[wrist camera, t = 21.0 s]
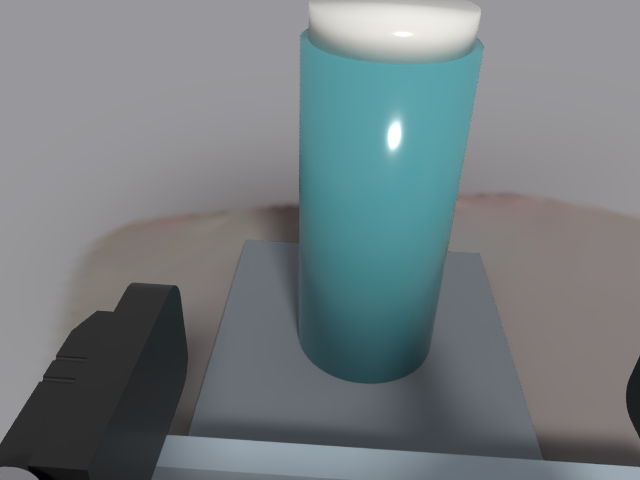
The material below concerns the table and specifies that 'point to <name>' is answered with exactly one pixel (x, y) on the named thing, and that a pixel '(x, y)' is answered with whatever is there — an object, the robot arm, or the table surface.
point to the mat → (357, 398)
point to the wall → (354, 464)
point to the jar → (380, 176)
